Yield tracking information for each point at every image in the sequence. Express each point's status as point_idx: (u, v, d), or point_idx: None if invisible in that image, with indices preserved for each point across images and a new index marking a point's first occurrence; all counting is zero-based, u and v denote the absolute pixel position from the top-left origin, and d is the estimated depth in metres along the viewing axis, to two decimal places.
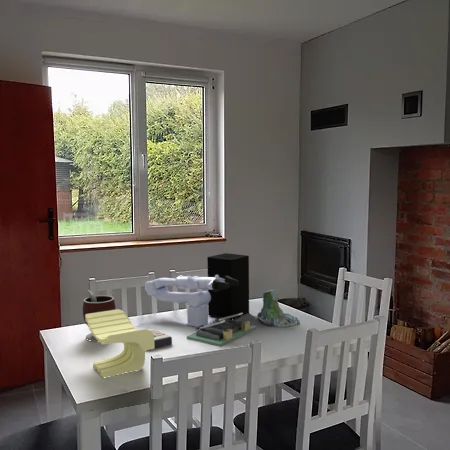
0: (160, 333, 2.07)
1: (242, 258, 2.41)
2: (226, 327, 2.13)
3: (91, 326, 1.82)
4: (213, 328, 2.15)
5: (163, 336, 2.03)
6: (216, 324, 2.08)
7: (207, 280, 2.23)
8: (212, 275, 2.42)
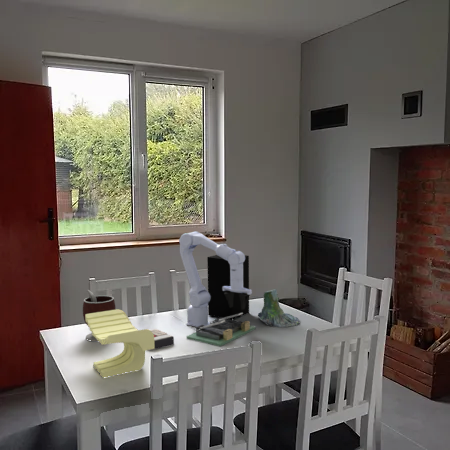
0: (162, 333, 2.08)
1: None
2: (226, 327, 2.13)
3: (91, 326, 1.82)
4: (213, 328, 2.15)
5: (165, 336, 2.04)
6: (216, 324, 2.08)
7: None
8: (212, 275, 2.42)
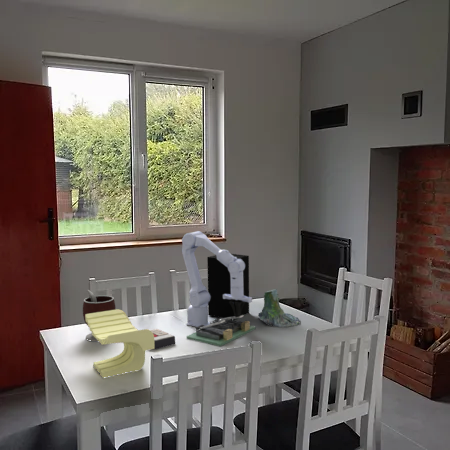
0: (163, 333, 2.08)
1: (242, 258, 2.41)
2: (226, 327, 2.13)
3: (91, 326, 1.82)
4: (213, 328, 2.15)
5: (166, 336, 2.04)
6: (216, 324, 2.08)
7: None
8: (212, 275, 2.42)
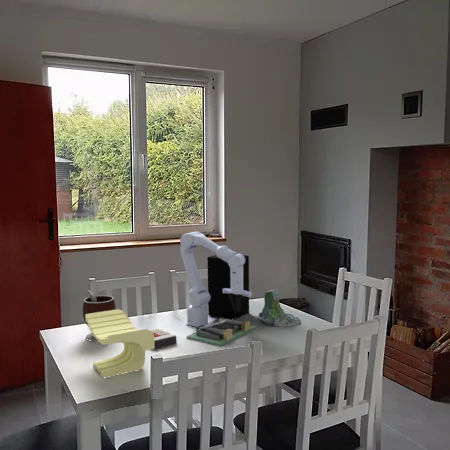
0: (164, 332, 2.08)
1: None
2: (226, 327, 2.13)
3: (91, 326, 1.82)
4: (213, 328, 2.15)
5: (168, 335, 2.04)
6: (216, 324, 2.08)
7: None
8: (212, 275, 2.42)
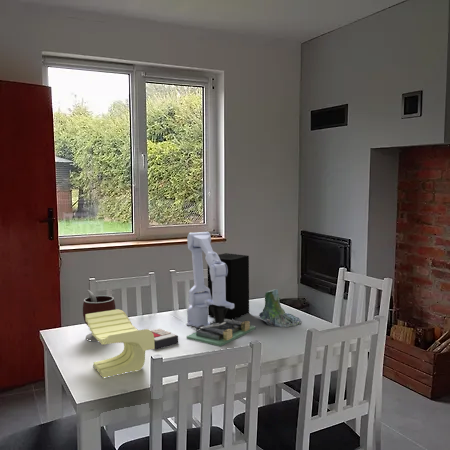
0: (166, 332, 2.08)
1: (242, 258, 2.41)
2: (226, 327, 2.13)
3: (91, 326, 1.82)
4: (213, 328, 2.15)
5: (169, 335, 2.04)
6: (216, 325, 2.08)
7: (225, 293, 2.08)
8: None
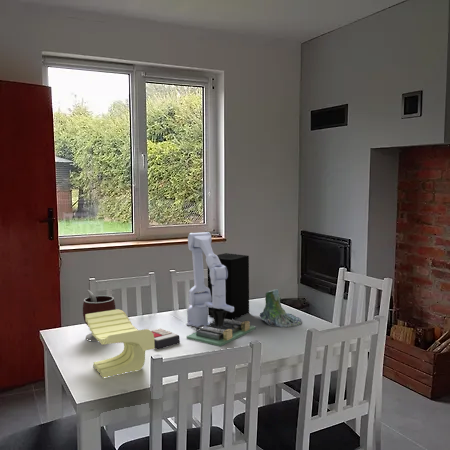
0: (167, 332, 2.09)
1: (242, 258, 2.41)
2: (226, 327, 2.13)
3: (91, 326, 1.82)
4: None
5: (171, 335, 2.05)
6: (217, 332, 2.08)
7: (225, 296, 2.08)
8: None
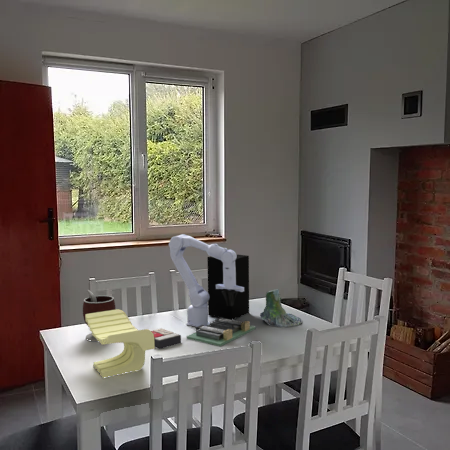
0: (168, 332, 2.09)
1: (242, 258, 2.41)
2: (226, 327, 2.13)
3: (91, 326, 1.82)
4: None
5: (172, 335, 2.05)
6: (217, 332, 2.08)
7: (235, 278, 2.24)
8: (212, 275, 2.42)
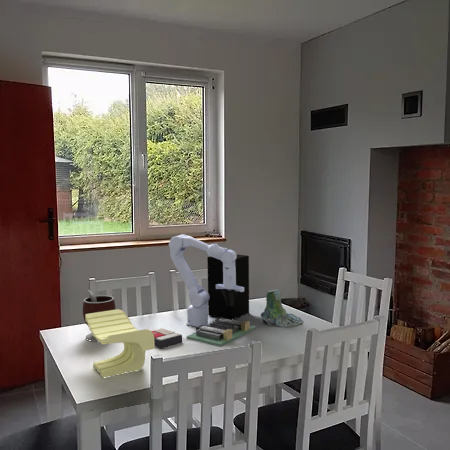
0: (169, 332, 2.09)
1: (242, 258, 2.41)
2: (226, 327, 2.13)
3: (91, 326, 1.82)
4: None
5: (173, 334, 2.05)
6: (217, 332, 2.08)
7: (235, 278, 2.24)
8: (212, 275, 2.42)
